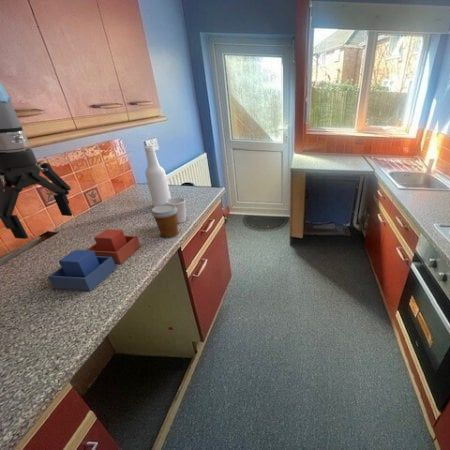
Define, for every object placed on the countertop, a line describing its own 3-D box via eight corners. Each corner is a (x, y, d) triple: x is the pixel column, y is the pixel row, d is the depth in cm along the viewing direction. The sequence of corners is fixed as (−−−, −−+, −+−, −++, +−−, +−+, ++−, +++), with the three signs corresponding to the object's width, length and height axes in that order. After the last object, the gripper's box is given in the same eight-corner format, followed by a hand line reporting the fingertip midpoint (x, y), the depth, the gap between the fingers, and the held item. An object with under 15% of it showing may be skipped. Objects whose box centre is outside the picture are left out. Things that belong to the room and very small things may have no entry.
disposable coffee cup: (154, 232, 106) (147, 207, 100) (177, 226, 112) (172, 201, 106) (161, 242, 100) (154, 215, 94) (185, 234, 105) (180, 209, 100)
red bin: (89, 261, 87) (84, 250, 85) (112, 244, 97) (108, 234, 95) (120, 263, 87) (116, 252, 84) (140, 246, 97) (137, 236, 94)
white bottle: (152, 204, 132) (137, 145, 118) (170, 201, 136) (158, 144, 122) (154, 210, 125) (139, 149, 111) (173, 206, 130) (161, 147, 116)
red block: (101, 256, 89) (93, 237, 85) (113, 247, 94) (106, 229, 90) (118, 257, 89) (110, 238, 85) (129, 248, 94) (122, 229, 90)
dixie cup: (193, 218, 119) (189, 199, 114) (178, 225, 112) (173, 205, 107) (180, 214, 122) (176, 195, 117) (165, 221, 115) (160, 201, 110)
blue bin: (54, 288, 75) (47, 276, 73) (84, 265, 85) (78, 254, 83) (90, 290, 75) (84, 279, 73) (116, 267, 85) (111, 256, 82)
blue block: (68, 281, 77) (58, 260, 73) (84, 269, 82) (75, 249, 78) (87, 283, 77) (78, 262, 73) (102, 270, 82) (93, 250, 78)
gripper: (-39, 163, 50) (13, 251, 60) (68, 141, 72) (93, 208, 82) (-76, 160, 50) (-18, 248, 60) (43, 139, 72) (71, 206, 82)
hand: (46, 225), depth 71 cm, fingers open, 13 cm apart
